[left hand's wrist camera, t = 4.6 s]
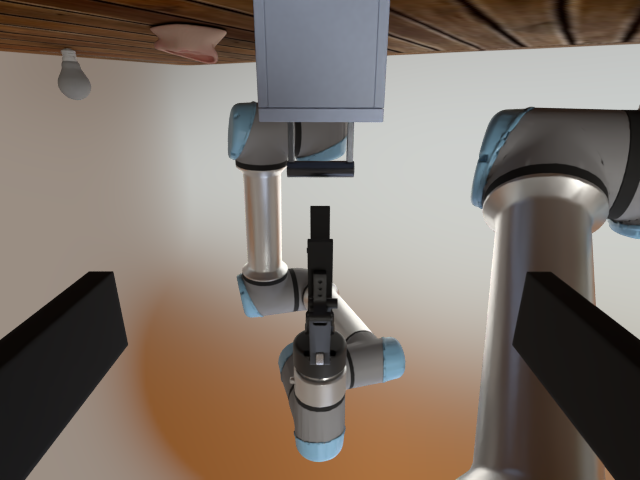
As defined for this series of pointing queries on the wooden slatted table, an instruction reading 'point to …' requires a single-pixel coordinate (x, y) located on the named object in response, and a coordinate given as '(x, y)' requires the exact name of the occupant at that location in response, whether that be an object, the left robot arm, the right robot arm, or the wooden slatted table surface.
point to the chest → (321, 53)
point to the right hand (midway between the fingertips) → (320, 220)
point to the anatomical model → (189, 41)
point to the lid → (320, 116)
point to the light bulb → (73, 77)
